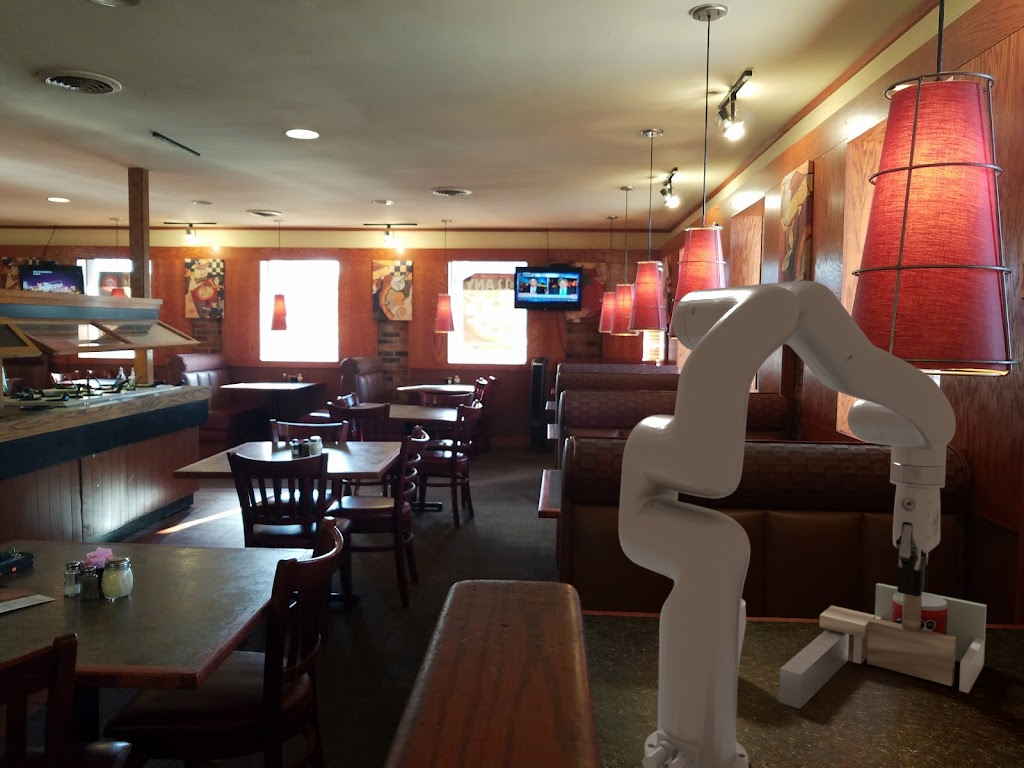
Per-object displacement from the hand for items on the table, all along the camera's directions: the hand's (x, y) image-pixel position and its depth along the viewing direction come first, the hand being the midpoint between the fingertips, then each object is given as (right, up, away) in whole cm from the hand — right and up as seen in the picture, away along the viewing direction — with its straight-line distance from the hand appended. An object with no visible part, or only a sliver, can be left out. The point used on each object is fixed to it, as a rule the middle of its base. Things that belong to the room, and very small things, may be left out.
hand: (912, 590), depth 117 cm
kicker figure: (-3, -13, +3) cm, 14 cm away
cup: (-31, -14, 0) cm, 34 cm away
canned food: (+3, -14, +5) cm, 15 cm away
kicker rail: (-16, -14, -1) cm, 21 cm away
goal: (+3, -14, +5) cm, 15 cm away
